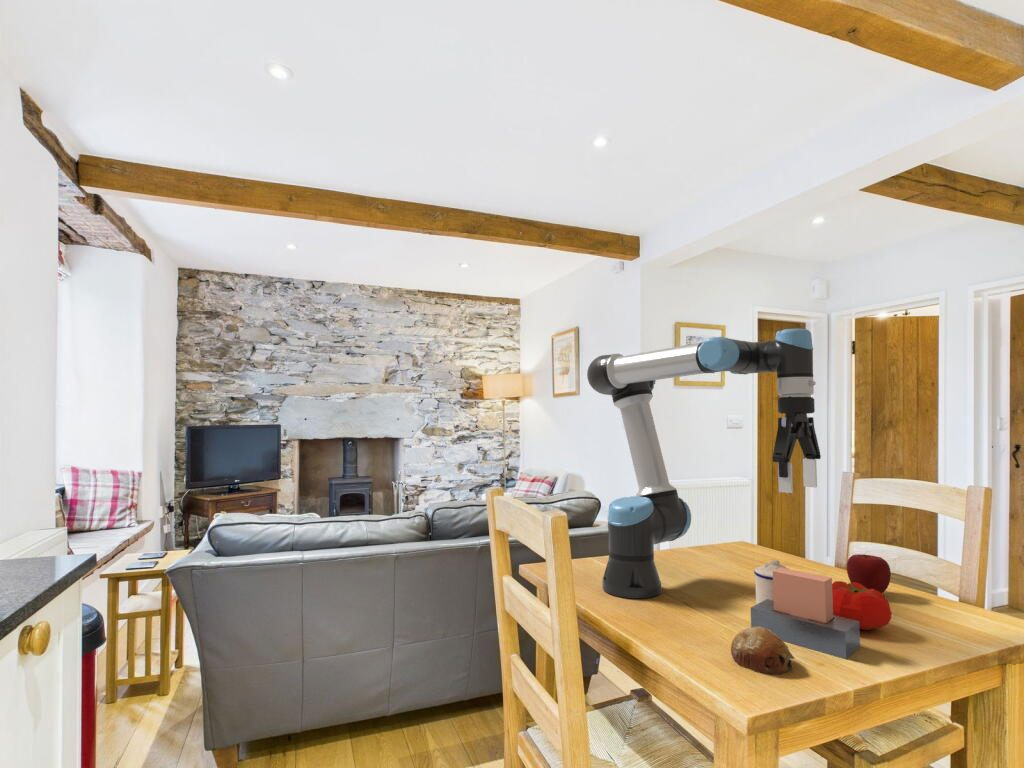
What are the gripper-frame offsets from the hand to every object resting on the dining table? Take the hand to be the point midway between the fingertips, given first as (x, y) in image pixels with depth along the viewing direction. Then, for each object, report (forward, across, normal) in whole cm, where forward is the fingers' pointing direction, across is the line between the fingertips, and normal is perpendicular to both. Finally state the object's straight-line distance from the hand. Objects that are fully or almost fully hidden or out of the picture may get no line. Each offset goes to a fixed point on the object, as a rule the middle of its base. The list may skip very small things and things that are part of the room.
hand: (798, 489), depth 127 cm
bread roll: (+29, -29, -4) cm, 41 cm away
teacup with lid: (+29, +2, +6) cm, 29 cm away
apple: (+29, +30, -5) cm, 42 cm away
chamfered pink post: (+27, -12, -5) cm, 30 cm away
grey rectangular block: (+29, -12, -5) cm, 32 cm away
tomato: (+29, +3, -10) cm, 31 cm away
